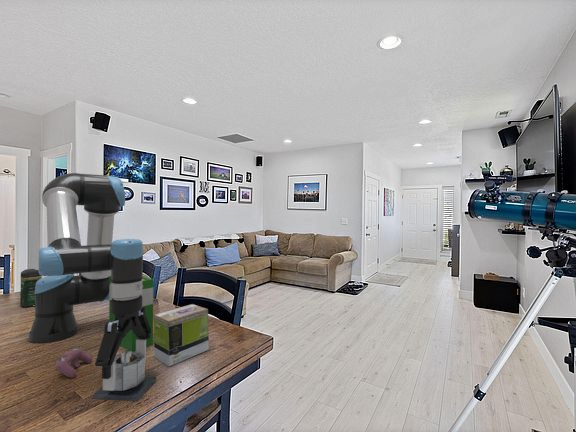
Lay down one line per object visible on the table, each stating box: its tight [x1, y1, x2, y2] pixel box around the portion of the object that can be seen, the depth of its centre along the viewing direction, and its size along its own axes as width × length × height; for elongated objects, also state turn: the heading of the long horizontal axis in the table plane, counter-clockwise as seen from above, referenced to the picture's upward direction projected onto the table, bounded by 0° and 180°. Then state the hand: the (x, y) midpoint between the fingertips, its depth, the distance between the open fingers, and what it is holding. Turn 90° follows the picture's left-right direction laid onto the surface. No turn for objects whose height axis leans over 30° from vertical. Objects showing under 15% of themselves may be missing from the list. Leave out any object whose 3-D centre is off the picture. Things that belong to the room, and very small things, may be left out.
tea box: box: [153, 303, 210, 367], centre depth 100 cm, size 15×10×15 cm, turn 141°
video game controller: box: [55, 347, 94, 379], centre depth 89 cm, size 10×5×7 cm, turn 6°
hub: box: [113, 351, 146, 391], centre depth 79 cm, size 8×8×6 cm
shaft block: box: [92, 349, 157, 402], centre depth 79 cm, size 12×9×10 cm
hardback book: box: [108, 276, 154, 352], centre depth 108 cm, size 18×7×24 cm, turn 54°
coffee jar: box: [19, 268, 43, 308], centre depth 150 cm, size 10×8×19 cm
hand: (126, 374), depth 79 cm, fingers open, 13 cm apart
